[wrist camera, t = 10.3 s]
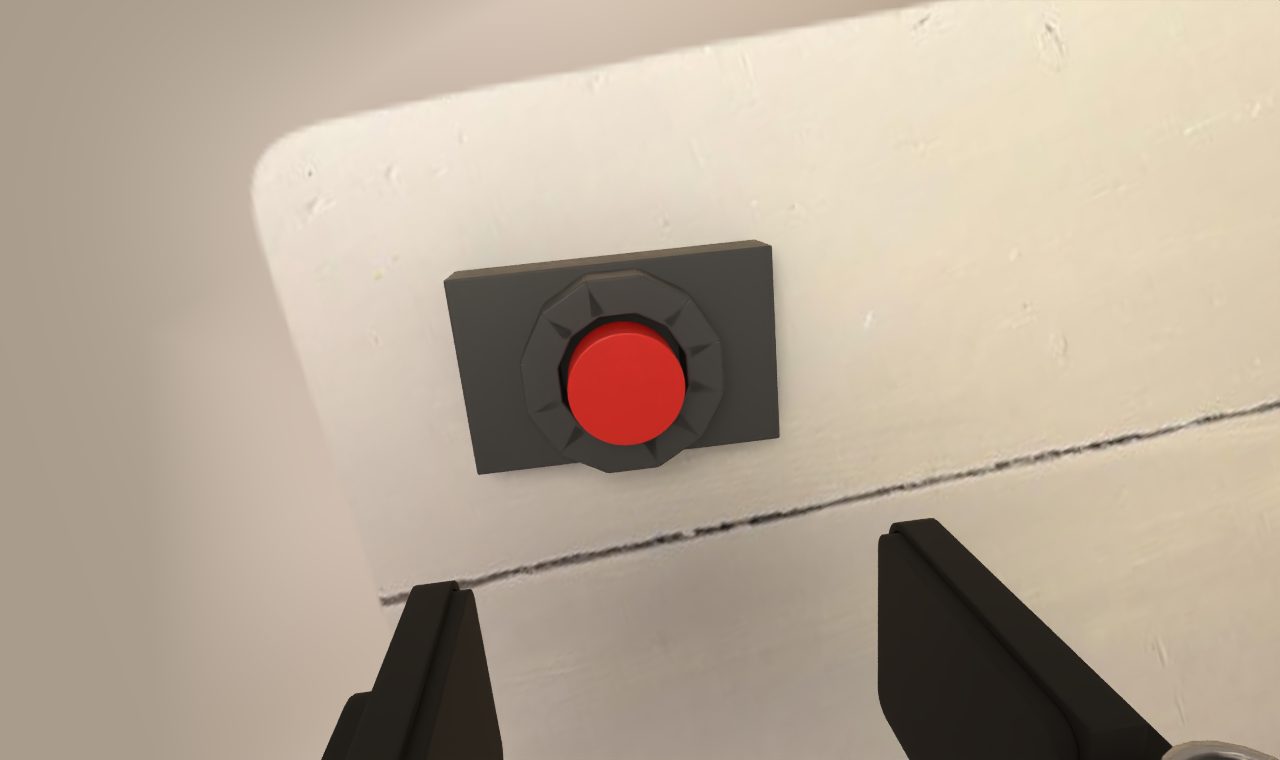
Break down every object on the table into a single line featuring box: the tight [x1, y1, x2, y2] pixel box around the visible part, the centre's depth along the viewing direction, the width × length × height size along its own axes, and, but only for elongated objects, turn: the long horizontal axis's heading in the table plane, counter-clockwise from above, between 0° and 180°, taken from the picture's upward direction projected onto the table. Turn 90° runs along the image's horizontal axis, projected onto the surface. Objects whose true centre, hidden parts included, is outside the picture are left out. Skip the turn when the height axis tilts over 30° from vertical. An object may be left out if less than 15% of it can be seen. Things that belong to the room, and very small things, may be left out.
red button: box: [567, 321, 685, 445], centre depth 22 cm, size 4×4×2 cm
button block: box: [444, 240, 780, 475], centre depth 25 cm, size 11×7×4 cm, turn 95°
